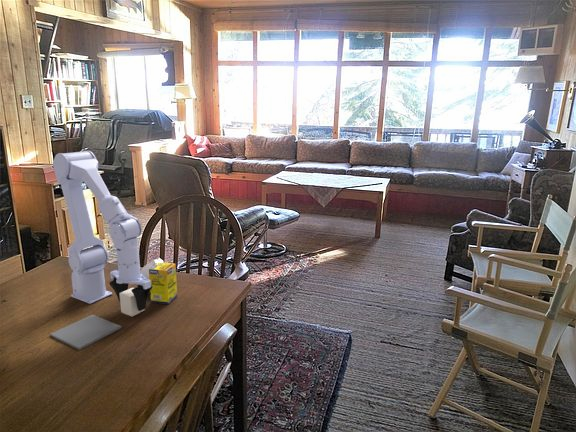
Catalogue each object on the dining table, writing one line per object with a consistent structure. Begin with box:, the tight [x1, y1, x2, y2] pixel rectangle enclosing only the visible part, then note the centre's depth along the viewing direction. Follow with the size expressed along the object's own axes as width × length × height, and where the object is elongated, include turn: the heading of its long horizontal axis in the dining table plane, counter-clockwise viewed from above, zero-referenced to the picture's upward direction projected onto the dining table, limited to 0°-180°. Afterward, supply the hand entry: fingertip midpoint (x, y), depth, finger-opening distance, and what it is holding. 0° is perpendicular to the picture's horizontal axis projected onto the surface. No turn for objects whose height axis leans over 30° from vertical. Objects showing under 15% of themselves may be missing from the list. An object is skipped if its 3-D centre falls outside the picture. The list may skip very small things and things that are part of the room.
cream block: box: [119, 287, 146, 317], centre depth 119 cm, size 4×4×6 cm
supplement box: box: [149, 261, 178, 305], centre depth 126 cm, size 6×6×11 cm
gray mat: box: [49, 314, 122, 351], centre depth 108 cm, size 12×12×1 cm
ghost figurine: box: [140, 258, 165, 280], centre depth 133 cm, size 9×10×10 cm
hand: (132, 306), depth 119 cm, fingers open, 7 cm apart
